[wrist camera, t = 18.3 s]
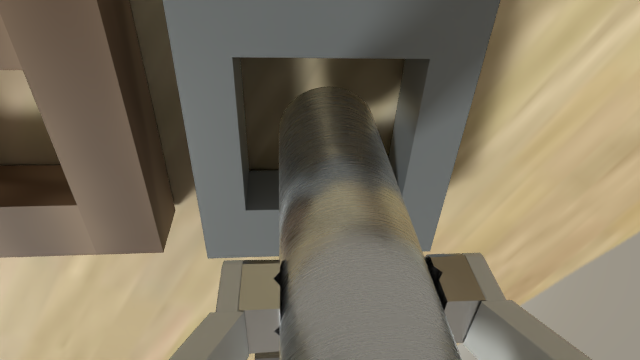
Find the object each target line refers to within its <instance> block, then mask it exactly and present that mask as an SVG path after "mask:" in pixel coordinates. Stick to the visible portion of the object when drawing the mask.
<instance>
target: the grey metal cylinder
mask: <svg viewBox="0 0 640 360" xmlns="http://www.w3.org/2000/svg"><path fill="white" fill-rule="evenodd" d="M279 260H280V326H279V328H280V360H462V359H461V356H460V354H459V351H458V348H457V345H456V342H455V340H454V337H453V334H452V331H451V329H450V326H449V323H448V320H447V318H446V315H445V312H444V309H443V307H442V304H441V301H440V299H439V296H438V293H437V290H436V288H435V285H434V282H433V279H432V277H431V274H430V271H429V268H428V266H427V263H426V260H425V258H424V255H423V252H422V249H421V247H420V244H419V241H418V238H417V236H416V233H415V230H414V227H413V225H412V222H411V219H410V217H409V214H408V211H407V208H406V206H405V203H404V200H403V197H402V195H401V192H400V189H399V186H398V184H397V181H396V178H395V175H394V173H393V170H392V167H391V165H390V162H389V159H388V156H387V154H386V151H385V148H384V145H383V143H382V140H381V137H380V134H379V132H378V129H377V126H376V124H375V121H374V118H373V115H372V113H371V110H370V109H369V107H368V105H367V104H366V103H365V102H364V100H363V99H361V98H360V97H359V96H358V95H356V94H355V93H353V92H351V91H349V90H346V89H343V88H338V87H320V88H315V89H312V90H309V91H307V92H305V93H303V94H301V95H299V96H298V97H297V98H295V99H294V100H293V101H292V102H291V103H290V104H289V105H288V106H287V108H286V109H285V111H284V113H283V114H282V117H281V120H280V124H279Z"/></svg>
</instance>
